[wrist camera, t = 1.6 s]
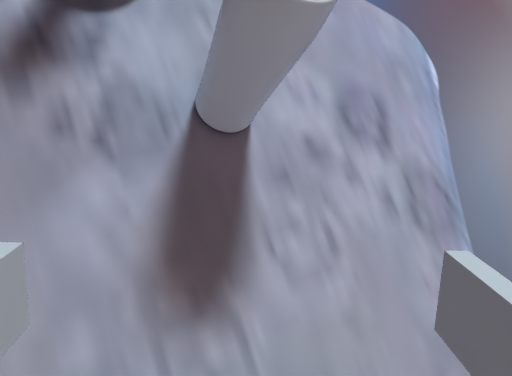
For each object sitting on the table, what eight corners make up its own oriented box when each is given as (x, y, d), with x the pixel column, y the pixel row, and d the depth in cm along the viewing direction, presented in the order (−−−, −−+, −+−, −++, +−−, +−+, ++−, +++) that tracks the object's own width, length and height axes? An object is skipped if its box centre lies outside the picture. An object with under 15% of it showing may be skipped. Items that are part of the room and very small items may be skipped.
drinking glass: (265, 144, 40) (357, 12, 28) (190, 141, 37) (256, -7, 25) (251, 82, 43) (329, -62, 31) (180, 76, 40) (234, -86, 28)
